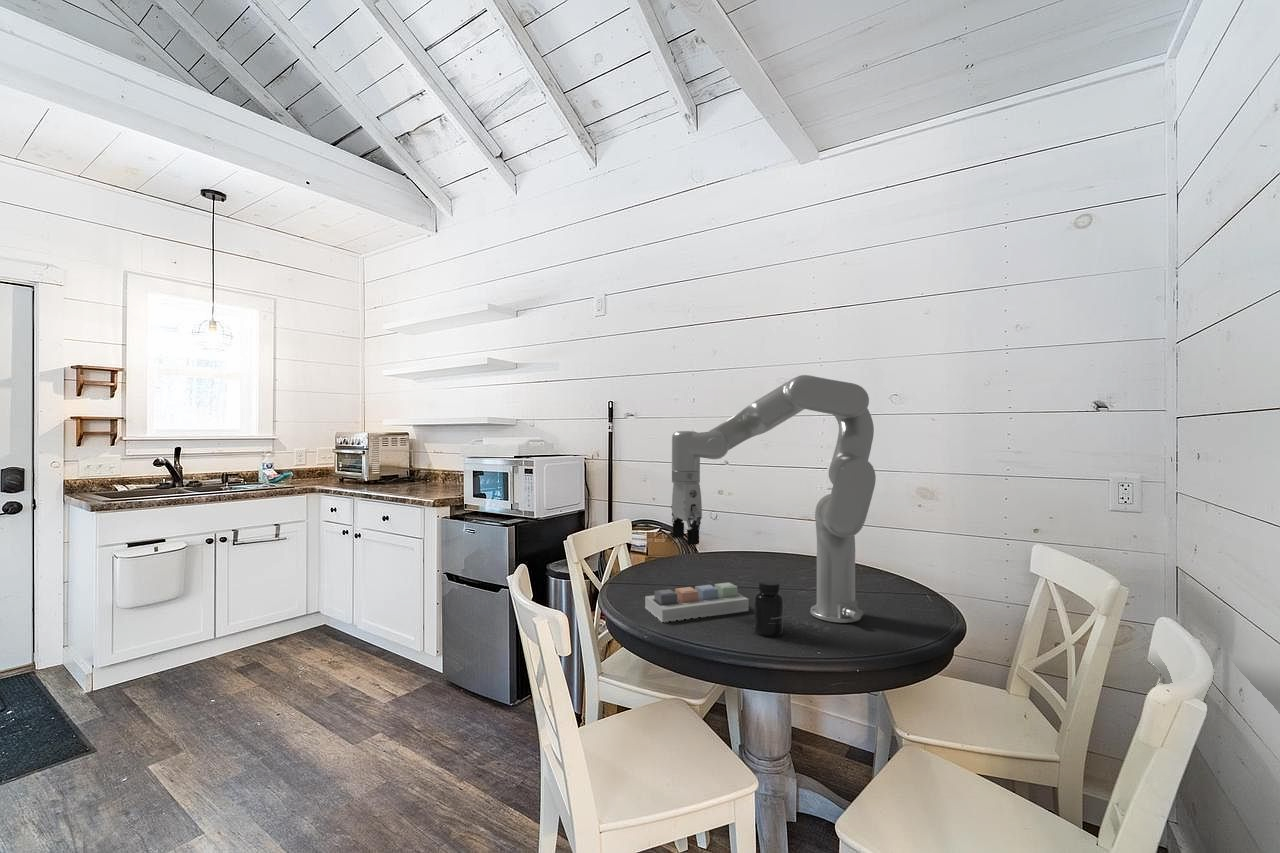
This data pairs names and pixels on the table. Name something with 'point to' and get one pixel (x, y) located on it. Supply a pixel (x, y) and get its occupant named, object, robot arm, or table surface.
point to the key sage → (726, 590)
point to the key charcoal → (665, 597)
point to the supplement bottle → (768, 609)
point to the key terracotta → (686, 594)
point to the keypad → (697, 608)
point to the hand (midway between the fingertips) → (685, 540)
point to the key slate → (707, 592)
